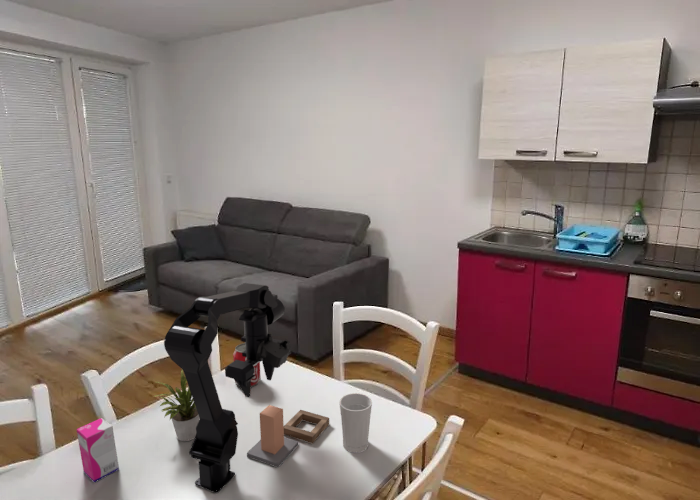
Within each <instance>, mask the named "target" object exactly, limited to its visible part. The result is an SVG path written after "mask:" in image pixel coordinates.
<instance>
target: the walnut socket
mask: <svg viewBox="0 0 700 500" xmlns="http://www.w3.org/2000/svg"><path fill="white" fill-rule="evenodd" d="M302 421H304V422H307V423H310V424H314V425H315V426H314V427H313V428H312V430H310V431H308V430H305V429H302V428H300V427H298V425H300V423H302ZM329 425H330V418H329V417H328V416H324V415H321V414H318V413H317V414H316V413H315V412H311V411H307V410H302V409H300V410H298V411H297V412H296V413H295V414H294V416H292V418H291V419H289V420H288V422H286V423H285V424H284V436H288V437H290V438H292V439H297V440H300V441H302V442H307V443H308V444H309V443H310V444H314V443H315V442H316V440H317V439H318V438H319V437H320V436H321V434H323V432H324V431H325V430H326V429H327V428H328V427H329Z"/></svg>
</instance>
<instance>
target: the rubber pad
mask: <svg viewBox="0 0 700 500" xmlns="http://www.w3.org/2000/svg"><path fill="white" fill-rule="evenodd" d="M298 446H299V441H298V440H295V439H293V438H288V437H286V436H284V446H283V447H282V448H281V449H280V450H279V451H278V452H277V453H276V454H272V453H269V452H267V451H264V450H261V439H260V440H259V441H257V443H256V444H255V445H253V446H252V447H251V448H250V449H249V450H248V451H247V452H246V457H247V458H250V459H252V460H256V461H258V462H262V463H264V464H267V465H270V466H272V467H275V468H279V467H281V465H282V464H283V463H284V462H285V461H286V460H287V459H288V458H289V456H290V455H291V454H292V453H293V452H294V451H295V450H296V449H297V447H298Z"/></svg>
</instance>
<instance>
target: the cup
mask: <svg viewBox="0 0 700 500" xmlns="http://www.w3.org/2000/svg"><path fill="white" fill-rule="evenodd" d="M372 406H373V401H372V398H371V397H369V396H368V395H366V394H363V393H360V392H359V393H357V392H355V393H354V392H353V393H347V394H345V395H343V396H342V397H340V400H339V411H340V418H341V419H340V420H341V428H342V447H343V448H344V449H345V450H346V451H347V452H349V453H362V452H364V451H366V450H367V448H368V446H369V434H370V424H371V414H372Z"/></svg>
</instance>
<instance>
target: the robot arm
mask: <svg viewBox="0 0 700 500" xmlns="http://www.w3.org/2000/svg"><path fill="white" fill-rule="evenodd" d="M278 297H279V296H278V294H272V292H271V290H270V289H269V285H266V284H265V285H264V284H258V283H257V284H256V283H251V282H249V283H248V282H244V283H241V284H240V285H238V286H237V287H236V288H235V290H233V291H226V292H223V293H218V294H214V295H213V294H212V295H209V296H199V297H197V298H196V299H195V300H194V301H193V303H192V304H191V306H190V307H189V308H188V309H186V310H185V311H184V312H182V313H181V314H180V315H178V316H177V317H176V318H175V319H174V321H173V323H172V325H171V326H170V328H169V329H168V331H167V333H166V334H165V336H164V341H163V344H164V345H163V347H164V350H165V352H166V353H167V355H168V357H169V358H170V360H171V361H172V362H173V363H175V364H176V366H178V367H179V368H180V369H181V370H183V373H184V376H185V377H186V380H187V385H188V387H189V389H190V391H191V394H192V398H193V400H194V401H193V402H194V403H195V406H196V409H197V412H198V415H199V418H200V419H199V422H198V424H197V426H196V436H195V438H194V439H193V441H192V444H191V446H190V448H189V452H188V453H189V457H190V458H191V459H196V460H199V461H198V472H199V473H198V474H199V477H198V478H197V479H196V480H195V482H194V484H195V486H196V487H197V486H198V487H201V488H202V489H204V490H207V491H210V492H211V493H215V494H217V493H219V492H220V491H222V489H223V488H224V487H225V486H226V485H228V483H229V482H230V481H231V480H232V479H233V478H234V477H235V476H236V472H235V471H232V470H231V460H232V458H233V457H234V456H235V455H236V453H237V452H236V451H237V445H238V438H239V431H238V424H239V423H238V421H237V420H236V419H237V418H236V414H235V412H234V411H233V410H229V409H226V408H223V407H222V403H221V401H220V397H219V394H218V390H217V388H216V384H215V380H214V377H213V375H212V371H211V368H210V365H209V358H210V356H211V355H212V352H213V346H212V345H213V343H214V341H215V339H216V338H217V335H218V333H219V331H218V329H219V328H218V320H219V318H220V316H221V315H225V314H227V313H231V312H236V311H238V310H239V311H240V310H242V309H244V310H243V313H241V315H240V316H239V321H242V322H243V327H244V328H243V329H244V331H243V332H244V335H243V336H241V337H240V339H241V341H240V342H244V343H245V351H244V352H242V356H244V357H247V359H248V360H246V361H245V362H244V361H240V360H235V361H234V360H233V361H232V362H231V363H229V364H228V365H227V366H225V368H224V375H225V378H230V379H233V380H234V382H235V381H236V382H237V384H238V385H239V386H238V385H237V384H236V385H237V386H238V387H239V389H240V390H241V391H242V393H243V394H244V396H245V397H246V398H250V397H251V392H252V391H251V389H252V387H251V379H252V378H253V377H254V376H255V375H253V374H254V367H253V366H255V365H256V364H257V363H259V362H260V363H261V362H262V366H263V370H264V374H265V377H266V380H267V381H271V380H272V378H273V375H274V371H275V369H277V368H280V367H281V366H282V365H283V364H285V363H286V362H287V359H288V357H289V356H290V355H291V354H292V350H291V349H292V347H291V341H290V340H288V339H286V338H285V339H284V340H282V339H278V338H273V336H272V334H271V333H269V332H268V331H269V330H268V326H270V325H272V324H273V323H275V322H276V321H277V320H278V319H280V318H281V317H283V316H284V314H285V305H284V304H283V302H282V301H281V300H280V299H279V298H278ZM246 308H247V309H246ZM248 308H250V309H248ZM201 317H207V319H208V320H207V326H206V327H205V328H204V329H203V328H198V327H197V328H196V327H192V326H191V325H193V324H194V323H196V321H197V320H199V319H200V318H201ZM190 326H191V327H190Z"/></svg>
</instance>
